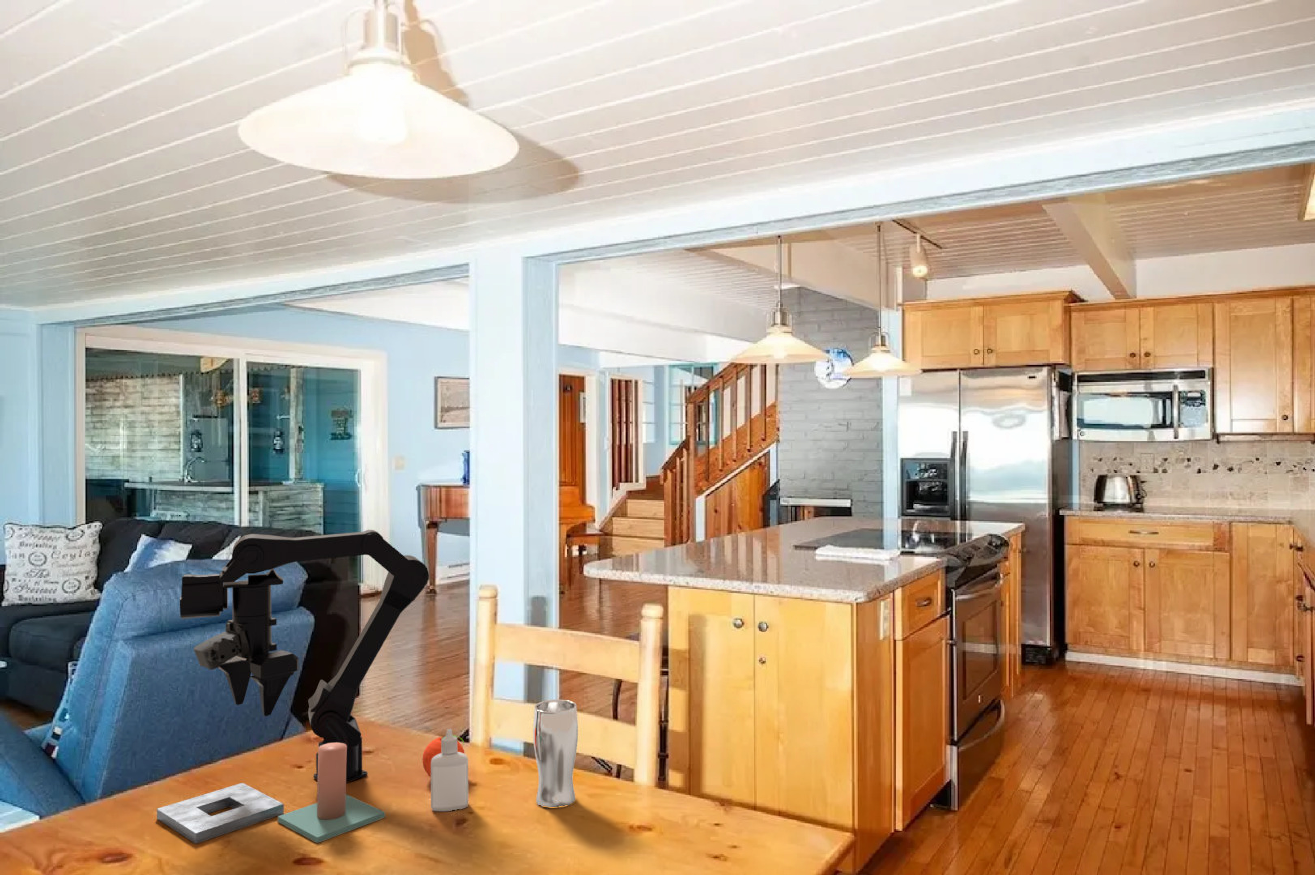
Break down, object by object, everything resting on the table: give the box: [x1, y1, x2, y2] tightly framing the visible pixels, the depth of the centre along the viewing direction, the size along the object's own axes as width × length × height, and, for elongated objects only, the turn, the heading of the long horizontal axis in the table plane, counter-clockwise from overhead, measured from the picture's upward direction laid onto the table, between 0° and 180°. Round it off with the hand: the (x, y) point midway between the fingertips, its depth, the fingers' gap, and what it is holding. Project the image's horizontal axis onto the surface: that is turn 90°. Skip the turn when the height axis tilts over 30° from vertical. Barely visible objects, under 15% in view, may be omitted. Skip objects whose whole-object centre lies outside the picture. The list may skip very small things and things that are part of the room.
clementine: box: [422, 734, 466, 778], centre depth 153 cm, size 8×7×7 cm
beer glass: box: [532, 699, 579, 807], centre depth 143 cm, size 7×7×15 cm
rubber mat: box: [277, 793, 386, 844], centre depth 137 cm, size 11×11×1 cm
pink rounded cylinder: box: [316, 743, 347, 820], centre depth 137 cm, size 4×4×10 cm
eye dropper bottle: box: [430, 728, 469, 812], centre depth 141 cm, size 4×6×12 cm
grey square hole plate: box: [156, 782, 285, 845], centre depth 138 cm, size 13×13×2 cm
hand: (252, 710), depth 148 cm, fingers open, 9 cm apart
